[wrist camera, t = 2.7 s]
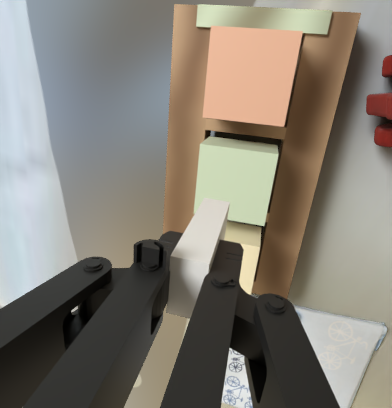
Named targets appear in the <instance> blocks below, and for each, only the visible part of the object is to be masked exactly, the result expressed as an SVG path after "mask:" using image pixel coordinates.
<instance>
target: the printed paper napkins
mask: <svg viewBox="0 0 392 408" xmlns="http://www.w3.org/2000/svg"><path fill="white" fill-rule="evenodd" d="M251 296H253V295H251ZM253 297H255V298H258V297H257V296H253ZM293 306H294V308H295V310H296V312H297V314H298V316H299V319H300V321H301V323H302V325H303V327H304V330H305V332H306V334H307V336H308V338H309V341H310V343H311V345H312V347H313V349H314V351H315V354H316V356H317V358H318V360H319V362H320V365H321V367H322V369H323V371H324V373H325V376H326V378H327V380H328V382H329V384H330V387H331V389H332V391H333V393H334V395H335V398H336V400H337V402H338V404H339V406H340V408H350V407H351V405H352V403H353V400H354V398H355V395H356V393H357V390H358V388H359V386H360V383H361V381H362V378H363V376H364V373H365V371H366V368H367V366H368V364H369V361H370V359H371V357H372V354H373V352H374V350H375V351H377V349H378V348H379V346H380V344H381V342H382V340H383V338H384V336H385V335H386V333H387V327H386V326H385V323H380V322H374V321H369V320H363V319H357V318H351V317H347V316H341V315H336V314H331V313H327V312H322V311H318V310H313V309H309V308H305V307H301V306H296V305H293ZM375 348H376V349H375ZM222 403H225V404H228V405H231V406H234V407H237V408H253V405H252V400H251V394H250V389H249V384H248V378H247V373H246V368H245V362H244V356H243V355H242V354H240V353H238V352H236V351H235V350H233V349H231V348H229V355H228V362H227V368H226V375H225V382H224V388H223V395H222Z"/></svg>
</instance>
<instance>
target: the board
mask: <svg viewBox="0 0 392 408" xmlns="http://www.w3.org/2000/svg"><path fill="white" fill-rule="evenodd" d="M360 15H361V13H351V12H332V11H331V10H309V9H288V8H266V7H244V6H224V5H223V6H222V5H202V4H198V5H182V4H175V5H174V23H173V43H172V62H171V63H172V64H171V83H170V104H169V122H168V142H167V162H166V182H165V202H164V222H163V234H164V233H166V232H168V231H175V232H180V233H184V232H185V230H186V228H187V227H188V225H189V223H190V221H191V220H192V218H193V216H194V215H195V214H194V204H195V193H196V182H197V171H198V161H199V150H200V144H201V143H202V142H203V141H204V140H206V139H207V138H208V137H209V136H210V133H211V130H212V131H220V132H228V133H236V134H244V135H252V136H260V137H268V138H276V139H282V142H281V147H280V152H279V157H278V162H277V167H276V172H275V177H274V182H273V187H272V192H271V197H270V202H269V205H268V210H267V215H266V220H265V228H264V233H263V238H262V243H261V248H260V253H259V258H258V263H257V266H256V271H255V276H254V281H253V286H252V291H251V293H255V294H259V295H262V294H268V293H272V294H277V295H280V296H282V297H284V298H286V299H287V297H288V293H289V289H290V286H291V282H292V278H293V274H294V270H295V266H296V262H297V259H298V255H299V251H300V247H301V243H302V239H303V235H304V231H305V228H306V224H307V220H308V216H309V212H310V208H311V204H312V201H313V197H314V193H315V189H316V185H317V181H318V177H319V173H320V170H321V166H322V162H323V158H324V154H325V150H326V146H327V143H328V139H329V135H330V131H331V127H332V123H333V119H334V115H335V112H336V108H337V104H338V100H339V96H340V92H341V88H342V85H343V81H344V77H345V73H346V69H347V65H348V61H349V58H350V54H351V50H352V46H353V42H354V38H355V34H356V30H357V27H358V23H359V19H360ZM211 26H225V27H242V28H259V29H276V30H293V31H303V34H302V39H301V40H302V41H301V46H300V51H299V56H298V61H297V66H296V71H295V76H294V82H293V87H292V92H291V97H290V102H289V107H288V112H287V117H286V122H285V124H284V127H280V126H272V125H263V124H255V123H246V122H238V121H229V120H221V119H212V118H203V107H204V96H205V85H206V74H207V64H208V53H209V42H210V31H211Z"/></svg>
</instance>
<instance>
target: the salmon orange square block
mask: <svg viewBox="0 0 392 408" xmlns="http://www.w3.org/2000/svg"><path fill="white" fill-rule="evenodd" d="M302 34H303V31H293V30H276V29H259V28H242V27H225V26H211V31H210V42H209V53H208V64H207V74H206V85H205V96H204V107H203V118H212V119H221V120H229V121H238V122H246V123H255V124H263V125H272V126H280V127H284V124H285V119H286V114H287V109H288V104H289V99H290V94H291V89H292V84H293V79H294V74H295V69H296V64H297V59H298V54H299V49H300V44H301V39H302Z"/></svg>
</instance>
